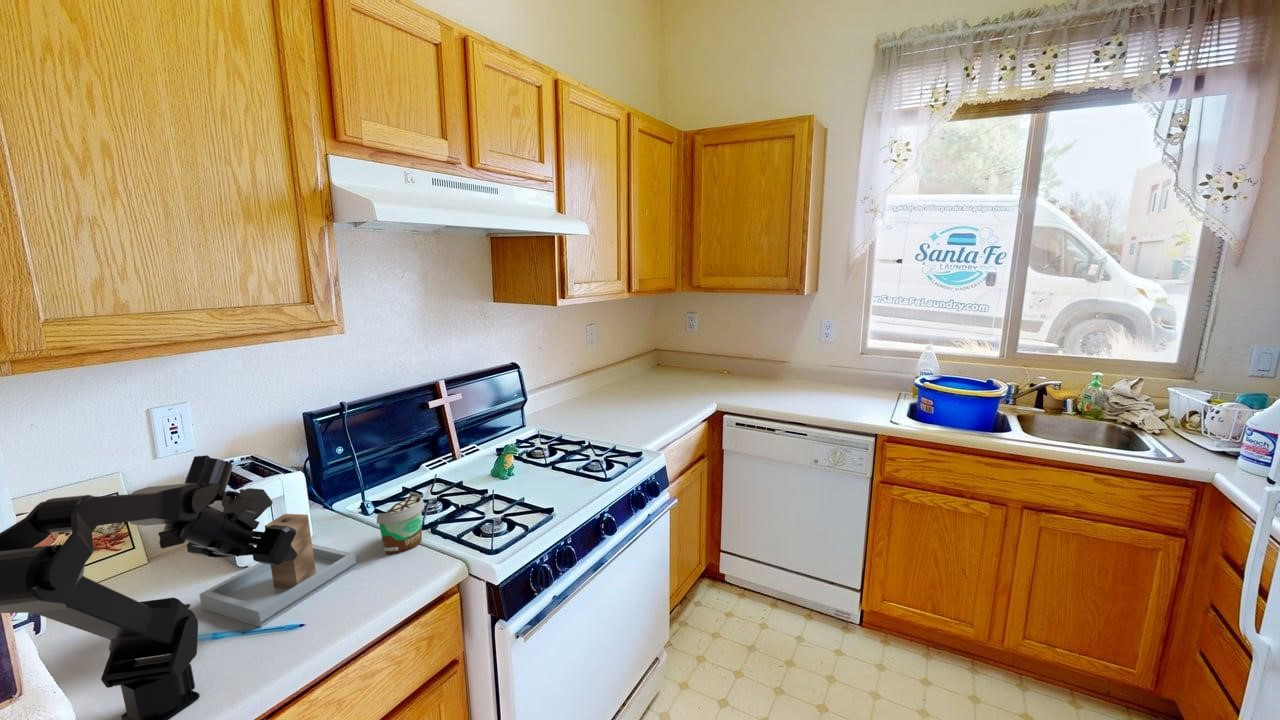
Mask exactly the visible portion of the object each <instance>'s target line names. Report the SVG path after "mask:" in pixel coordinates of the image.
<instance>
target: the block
mask: <svg viewBox="0 0 1280 720" xmlns="http://www.w3.org/2000/svg"><path fill="white" fill-rule="evenodd" d="M271 525H281V526H289V527H291V528H293V529H295V530H296V535H295V537H294V539H293V541H292V543H291V546H292V547H293V549H294V550H295V551H296V552H297V556H296V558H295V560H290V561H285V562H281V563H280V564H278V565H271V571H272V577H273V583H274V588H283V589H291V588H293V587H295V586H296V585H298V584H300V583H301V582H303V581H305V580H306V579H308V578H310V577H311V576H313V575H315V574H316V569H315V562H314V555H313V548H312V544H313V541H312V533H311V528H310V520H309V515H308V514H302V513H301V514H299V513H284V514H282V515H280V516H278V517H277V518H276V519H274V520H272V521H270V522H269V523H267V524H265V525H264V529H266V528H267V527H269V526H271Z"/></svg>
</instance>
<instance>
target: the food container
mask: <svg viewBox="0 0 1280 720" xmlns="http://www.w3.org/2000/svg"><path fill="white" fill-rule="evenodd" d="M424 509H425V503H424V499H423V498H422V496H421V495H420V494H419V493H417V492H413V491H409V496H407V497H406V498H405V499H403V500H402V501H399V502H397V503H394V504H393V505H392V507H390V509H388V510H387V511H386V512H384V513H377V514H376V515H377V516H376V524H378V525H379V530H380V535H381V539H382V545H383V550H384V554H385V555H395V554H396V555H397V554H401V553H406V552H408V551H411V550H412V549H415V548H417V547H418V546H419V545H420V544H421V543H422V541H421V540H423V537H422V536H423V535H422V534H423V533H422V532H423V531H422V528H423V526H422V525H423V523H422V522H423V521H422V519H423V518H422V515H423V514H422V513H423V512H422V511H423V510H424ZM420 542H421V543H420Z"/></svg>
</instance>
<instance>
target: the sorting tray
mask: <svg viewBox="0 0 1280 720" xmlns="http://www.w3.org/2000/svg"><path fill="white" fill-rule="evenodd" d="M312 548H313V555H314V562H315V569H316V574H315V575H313V576H311V577H310V578H308V579H306V580H305V581H303V582H301V583H300V584H298V585H296V586H295V587H293V588H291V589H283V588H274V583H273V577H272V571H271V564H263V563H260V562H257V563H256V564H254V565H252V566H250V567H248V568H246V569H245V570H242V571H240V572H238V573H236V574H235V575H233V576H230V578H227V579H226V580H224V581H221V582H220V583H218V584H215V585H214V586H212V587H210V588H208V589H206V590H204V591H202V592H200V593H199V599H200V604H201V609H203V610H205V611H207V612H208V611H209V612H212V613H215V614H218V615H221V616H225V617H228V618H231V619H233V620H234V619H235V620H237V621H241V622H243V623H246V624H250V625H251V626H252V625H253V626H256V627H259V628H262V627H264V626H266V625H268V624H269V623H271V622H272V621H274V620H275V619H278V617H280V616H282V615H283V614H285V613H286V612H288V611H290V610H291V609H292V608H294V607H296V606H297V605H300V604H301V603H302V602H304V601H306V600H307V599H308V598H310V597H311V596H313V595H314V594H316V593H318V592H319V591H321V590H323V589H324V588H326V587H328V586H329V585H331V584H332V583H333V582H335V581H337V580H338V579H340V578H342V577H343V576H344V575H346V574H347V573H350V572H351V571H353V570H354V569H356V568H357V567H358V566H357V557H356V553H354V552H349V551H345V550H341V549H336V548H331V547H327V546H323V545H318V544H314V543H312Z"/></svg>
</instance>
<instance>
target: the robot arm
mask: <svg viewBox="0 0 1280 720" xmlns="http://www.w3.org/2000/svg"><path fill="white" fill-rule="evenodd" d="M233 466H234V465H233V464H232V462H230V461H226V460H223V459H219V458H213V457H210V456H209V455H197V456H196V455H195V456H193V459H192V462H191V465H190V467H189V469H188V473H187V474H186V475H187V476H186V478H185V481H184V483H177V484H167V485H165V484H164V485H155V486H147V487H144V488H143V487H142V488H141V489H137V490H135V491H134V490H133V491H132V492H131V494H129V493H128V494H114V495H101V496H100V495H99V496H97V495H92V494H84V495H83V494H82V495H73V496H72V495H71V496H63V497H62V496H61V497H53V498H49V499H46V500H45V501H40V502H39V503H38V504H37V505H36V506H35V507H33V509H32V510H31V511H30V512H29V513H28V514H27V515H26V516H25V517H24V518H23V519H22V520H19V521H18V522H16V523H14V524H13V525H11V526H10V527H7V528H6V529H4V530H3V531H1V532H0V614H26V613H29V614H36V615H38V616H41V617H44V618H45V619H46V618H47V619H49V620H53V621H56V622H58V623H61V624H63V625H67V626H70V627H73V628H76V629H78V630H80V631H81V630H82V631H84V632H87V633H90V634H93V635H96V636H99V637H101V638H104V639H106V640H107V639H108V640H110V642H109V645H108V651H109V655H108V659H107V660H106V663H105V667H104V669H103V671H102V672H103V673H102V675H101V678H100V680H101V682H102V683H103V684H104V686H105V687H106V688H113V687H118V686H120V688H121V693H122V697H123V702H124V707H125V710H126V711H125V712H124V713H123V714H122V715H120V719H121V720H169V719H170V718H172V717H173V716H175V715H176V714H178V713H179V712H181V711H182V710H184V709H185V708H186V707H189V705H192V703H194V702H195V701H197V700H198V699H200V693H199V692H197V691H194V690H195V688H196V684H195V683H196V682H195V678H194V673H193V668H192V667H193V666H192V664H191V662H192V661H193V660H194V658H195V657H196V656H197V654H198V641H199V640H198V634H199V621H198V618H197V617H196V615H195V612H193V610H191V609H190V607H191V603H183V602H182V601H181V599H179V598H176V597H167V598H160V599H158V598H157V599H151V600H145V601H138V600H136V599H134V598H132V597H129V596H128V595H125V594H124V593H123V594H122V593H120V592H118V591H116V590H114V589H112V588H110V587H108V586H105V585H103V584H101V583H99V582H96V581H95V580H93V579H90V578H88V577H86V576H85V575H84V572H85V566H86V563H87V562H88V560H89V559H90V558H91V556H92V555H93V553H94V541H93V532H94V530H96V528H97V527H99V526H107V525H113V524H121V523H128V522H129V524H130V525H137V526H144V527H147V526H148V527H149V526H156V525H164V528H163V530H162V531H159V532H158V534H157V535H158V536H159V541H158V542H159V547H160V548H161V549H167V548H171V547H176V546H179V545H183V544H185V543H186V542H188V543H187V544H186V548H187V549H186V550H187V553H189V554H193V555H195V556H200V557H208V558H209V557H210V558H229V557H243V556H252V559H253V561H254V562H257V563H263V564H271V565H278V564H280V563H281V562H285V561H290V560H295V558H296V556H297V552H296V551H295V550H294V549H293V547H292V546H291V543H292V541H293V539H294V537H295V535H296V530H295V529H293V528H291V527H289V526H281V525H271V526H269V527H267V528H266V529H265V528H264V529H265V530H264V531H257V530H256V529H257V528H258V526H259V525H260V521H257V519H258V518H260V516H261V515H263V513H264V512H265V511H266V510H267V509H268V508H271V506H272V505H273V500H272V499H271V497H270V496H269V495H268V493H267V492H266V491H265V490H264V489H262V488H251V487H249V488H245V489H244V488H243V489H242V488H240V489H239V490H238V491H239V492H238V491H234V490H227V487H228V483H229V480H230V477H231V474H232V471H233ZM215 502H221V506H222V507H223V510H222V511H221V510H219V509H217V508H214V507H212V506H210V505H213V504H214V503H215ZM63 532H66V533H67V532H71V534H70V535H69V537H68V538H67V539H66V540H65V541H64V542H63V544H53V545H43V546H37V545H39V544H40V543H42V542H43V541H45V540H46V539H47V538H48V537H49V536H50V535H51V534H56V533H63Z"/></svg>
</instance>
